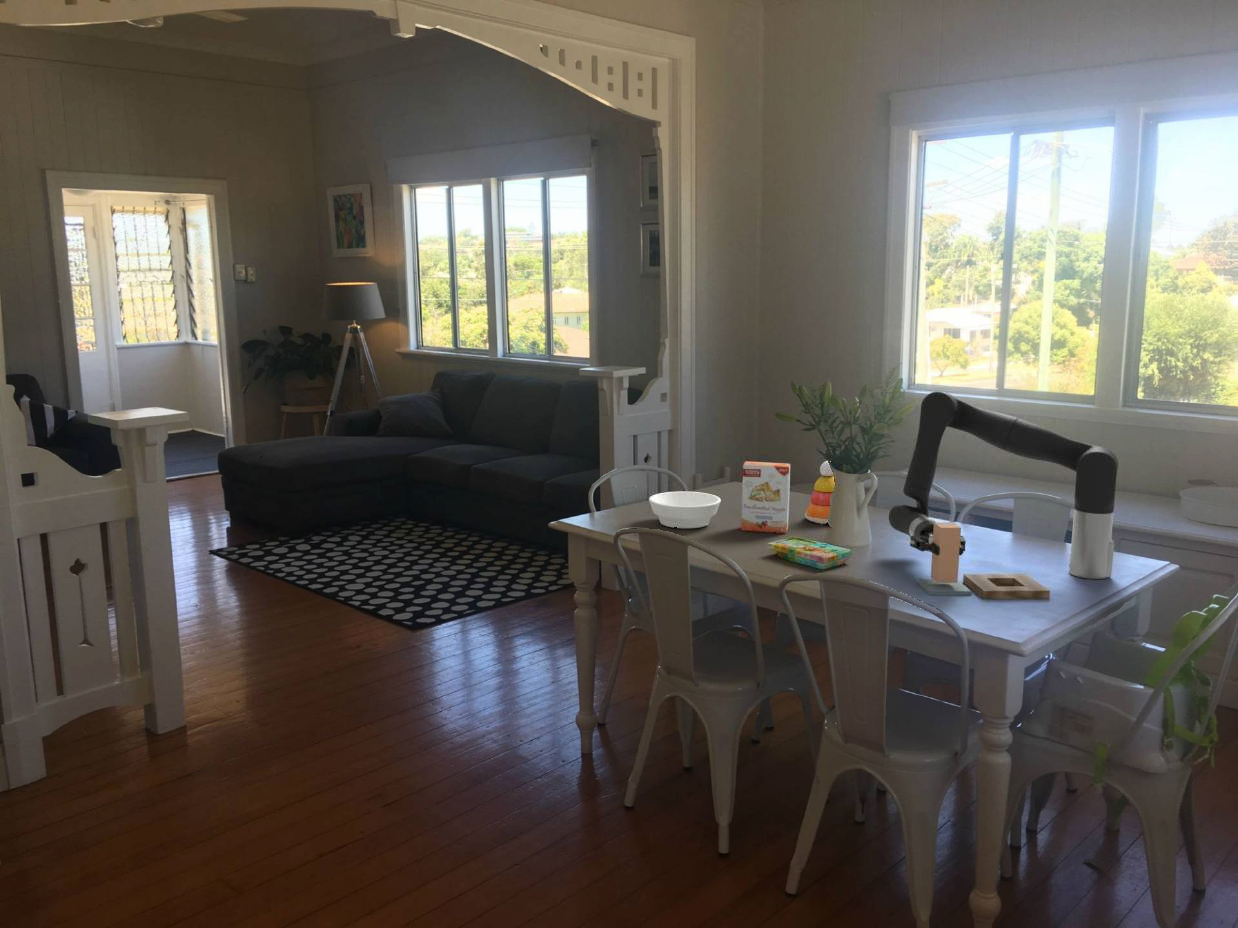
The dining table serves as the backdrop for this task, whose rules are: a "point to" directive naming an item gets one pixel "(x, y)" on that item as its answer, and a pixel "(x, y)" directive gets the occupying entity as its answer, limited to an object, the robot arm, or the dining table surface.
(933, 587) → the slate pad
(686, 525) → the bowl
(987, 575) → the walnut puzzle board
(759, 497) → the cracker box
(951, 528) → the terracotta block
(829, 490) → the stacking toy
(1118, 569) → the dining table surface
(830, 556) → the puzzle game
